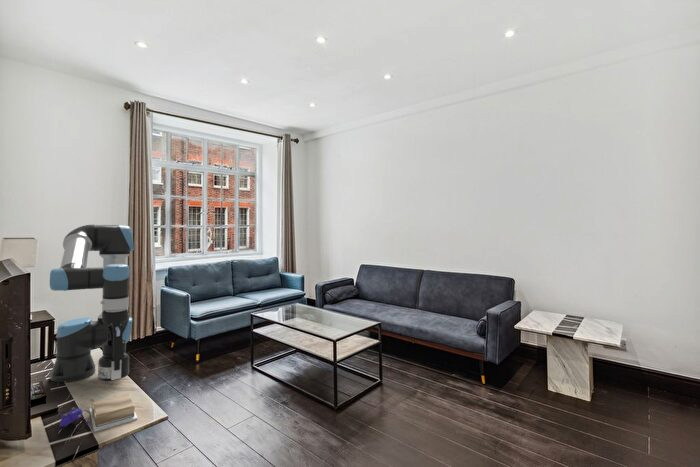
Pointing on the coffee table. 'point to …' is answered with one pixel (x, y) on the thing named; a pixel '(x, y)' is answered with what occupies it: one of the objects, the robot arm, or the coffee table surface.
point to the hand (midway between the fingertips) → (113, 373)
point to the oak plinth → (112, 409)
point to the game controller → (71, 417)
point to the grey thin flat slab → (112, 423)
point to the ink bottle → (106, 365)
